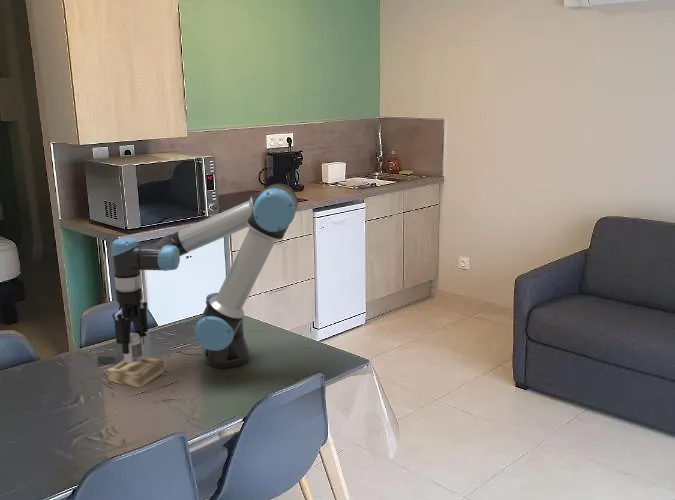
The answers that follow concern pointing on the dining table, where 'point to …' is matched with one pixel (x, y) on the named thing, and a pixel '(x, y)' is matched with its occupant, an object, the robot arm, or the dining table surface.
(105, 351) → the black tin
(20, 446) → the dining table surface
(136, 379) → the stand
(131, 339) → the pill bottle
